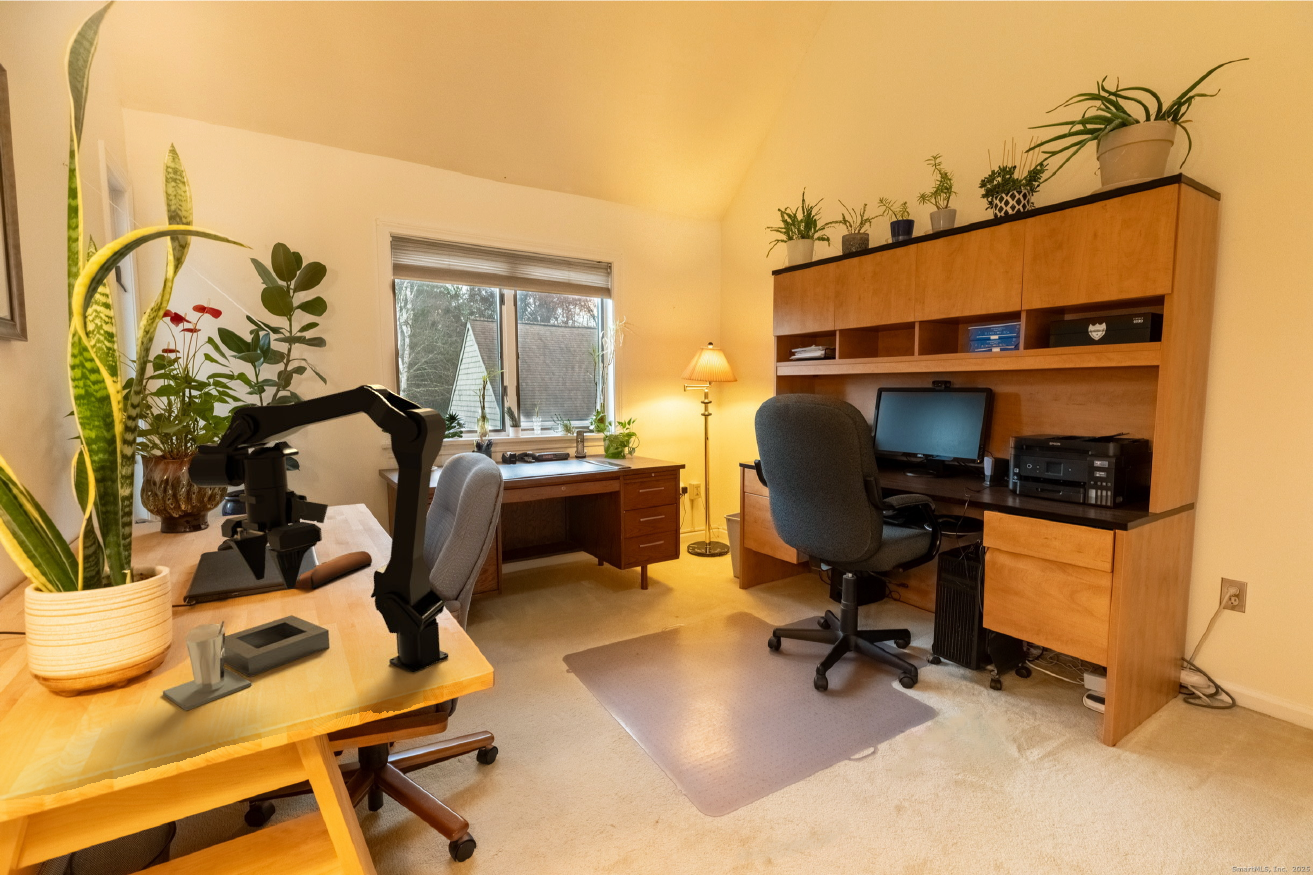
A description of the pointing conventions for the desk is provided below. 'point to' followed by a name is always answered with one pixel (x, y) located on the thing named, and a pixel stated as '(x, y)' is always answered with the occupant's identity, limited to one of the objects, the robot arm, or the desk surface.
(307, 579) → the sunglasses case
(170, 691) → the pad
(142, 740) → the desk surface
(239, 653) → the collar
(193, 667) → the milkshake
